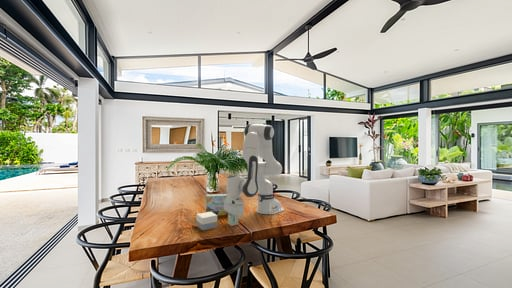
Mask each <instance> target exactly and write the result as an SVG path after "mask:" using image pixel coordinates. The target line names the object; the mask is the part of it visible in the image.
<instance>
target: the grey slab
mask: <svg viewBox="0 0 512 288" xmlns="http://www.w3.org/2000/svg"><path fill="white" fill-rule="evenodd" d="M195 221H196V224H195V225H196V227H197V228H198V227H199V228H198V229H199V230H203V231H207V230H211V229H216V228H218V221H217V222H213V223H208V224H203V225H202V224H201V223H200V222H198V221H197V220H195Z"/></svg>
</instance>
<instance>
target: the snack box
mask: <svg viewBox="0 0 512 288" xmlns="http://www.w3.org/2000/svg"><path fill="white" fill-rule="evenodd" d="M226 194H227V193H216V194H215V193H214V194H213V193H212V194H211V193H210V194H206V195H205V213H206V212H212V213H214V214H216V215H217V216H228V212H227V211H225V210H224V201H225V198H226Z"/></svg>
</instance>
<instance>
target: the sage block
mask: <svg viewBox="0 0 512 288" xmlns="http://www.w3.org/2000/svg"><path fill="white" fill-rule="evenodd" d="M234 219H235V215H233V214H230V215H227V224H228V225H230V226H231V227H233V226H238V225H239V218H238V219H237V222H235V221H234Z"/></svg>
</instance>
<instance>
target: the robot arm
mask: <svg viewBox="0 0 512 288" xmlns="http://www.w3.org/2000/svg"><path fill="white" fill-rule="evenodd" d="M243 132H244V133H243V134H244V136H245V138H244V141H243V144H242V145H243V146H242V159H244V161H245V162H246V165H247V174H246V178H245V177H242V176H241V175H239V174H230V175H229V176H227V179H226V188H225V189H226V193H225V194H226V198H225V201H224V210H225V211H227V212H228V215H230V214H233V215H235V219H234V221H235V222H237V219H238V220H239V218H240V217H241V218H242V217H243V216H244V211H245V209H244V204H245V202H244V201H245V200H244V199H242V198H241V195H240V194H243V195H245V196H246V197H247V198H253V197H255V196H256V195H257V207H256V213H258V214H263V215H275V214H278V213H282V212H284V211H285V208H284V207H282V205H281V202H280V201H279V200H278V199H276V198H275V197H277V193H273V190H274V188H273V183H272V181H270V180H268V179H267V178H266V177H276V176H280V175H281V173H282V172H283V166H282V164H281V163H280V162H279V161H278V160H276V158H275V157H274V153H273V138H274V135H275V128H274V126H272V125H270V124H263V123H261V124H260V123H256V124H255V123H254V124H253V123H249V124H247V125H246V126H245V127H244V131H243ZM259 158H261V159H263V160H264V161H259ZM228 215H227V216H228Z"/></svg>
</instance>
